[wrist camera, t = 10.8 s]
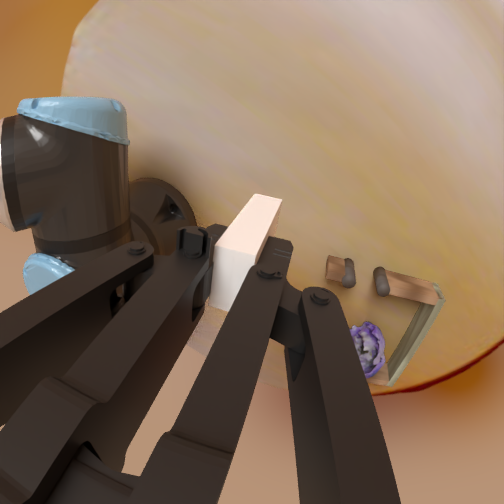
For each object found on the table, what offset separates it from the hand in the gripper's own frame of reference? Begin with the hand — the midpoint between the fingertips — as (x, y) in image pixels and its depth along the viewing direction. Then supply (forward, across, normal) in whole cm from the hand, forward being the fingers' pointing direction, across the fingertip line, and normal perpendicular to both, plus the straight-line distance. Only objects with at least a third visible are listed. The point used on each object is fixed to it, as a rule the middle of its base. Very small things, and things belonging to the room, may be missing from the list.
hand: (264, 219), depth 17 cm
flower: (+25, +18, -26) cm, 40 cm away
